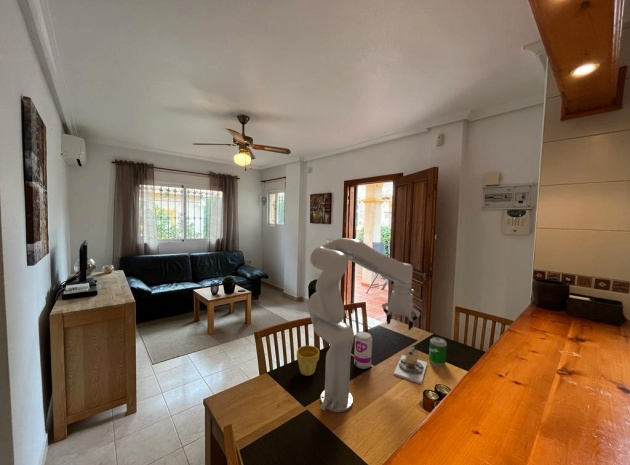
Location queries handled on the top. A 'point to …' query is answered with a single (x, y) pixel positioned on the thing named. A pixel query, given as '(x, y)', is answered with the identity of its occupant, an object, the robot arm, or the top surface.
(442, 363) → the soda can
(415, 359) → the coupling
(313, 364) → the plant pot
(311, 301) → the robot arm
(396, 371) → the socket board
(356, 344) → the supplement can
